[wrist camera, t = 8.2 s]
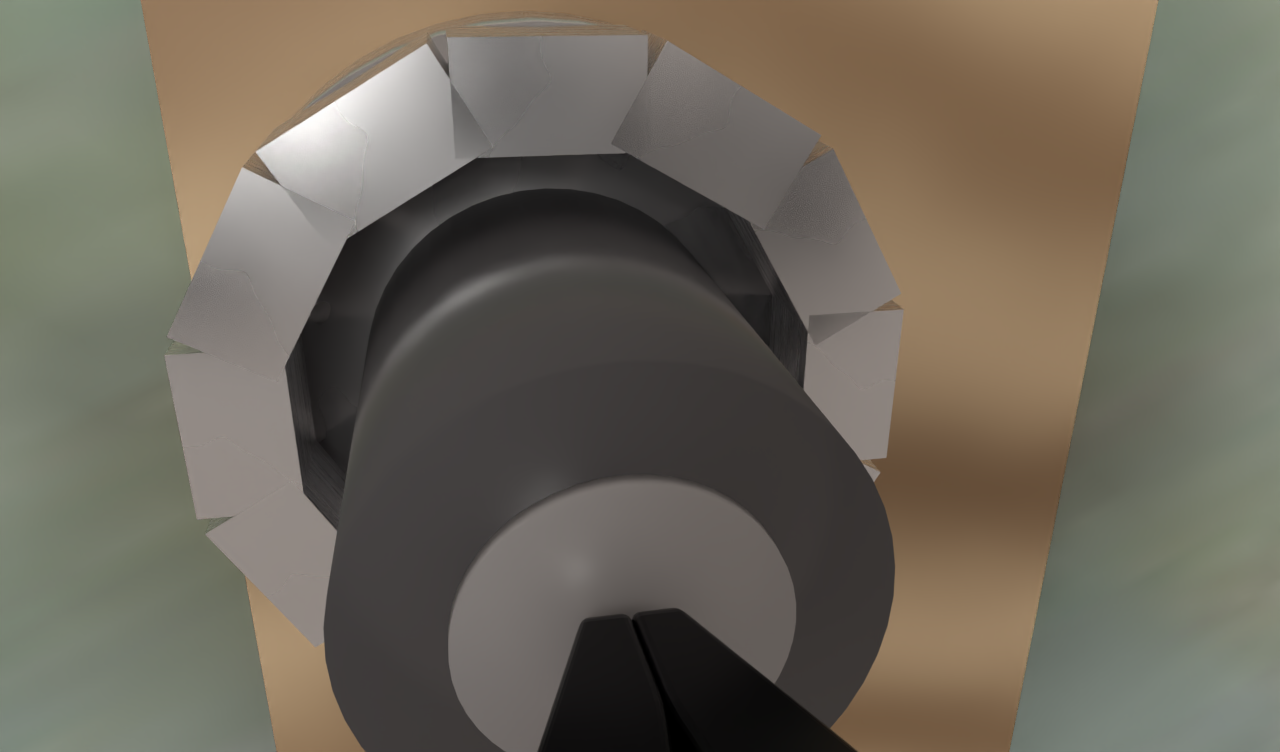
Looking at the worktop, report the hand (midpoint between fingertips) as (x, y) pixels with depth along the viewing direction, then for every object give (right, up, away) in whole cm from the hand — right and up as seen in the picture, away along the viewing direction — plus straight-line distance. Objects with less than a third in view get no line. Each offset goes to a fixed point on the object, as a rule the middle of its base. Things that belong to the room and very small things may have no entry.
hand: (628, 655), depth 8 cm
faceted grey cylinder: (-2, +3, +7) cm, 8 cm away
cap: (-1, +3, +6) cm, 6 cm away
